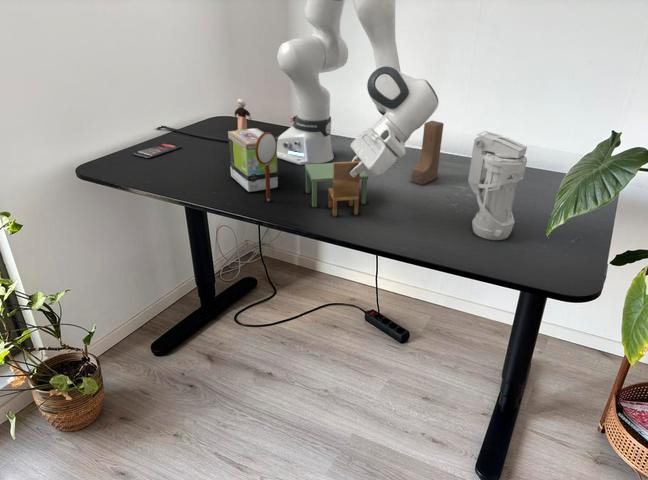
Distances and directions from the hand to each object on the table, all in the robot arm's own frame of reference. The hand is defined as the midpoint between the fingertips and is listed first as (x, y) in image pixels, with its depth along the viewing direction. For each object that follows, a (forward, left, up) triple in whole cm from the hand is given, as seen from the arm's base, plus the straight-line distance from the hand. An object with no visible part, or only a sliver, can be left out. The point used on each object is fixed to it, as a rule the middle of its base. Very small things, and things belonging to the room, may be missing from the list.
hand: (349, 173), depth 143 cm
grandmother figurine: (-70, +47, -12) cm, 85 cm away
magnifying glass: (-24, -4, -12) cm, 27 cm away
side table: (-9, +9, -12) cm, 17 cm away
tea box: (-36, +6, -12) cm, 38 cm away
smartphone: (-81, +12, -12) cm, 83 cm away
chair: (-3, +2, -12) cm, 12 cm away
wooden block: (+9, +36, -12) cm, 39 cm away
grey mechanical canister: (+36, +10, -12) cm, 40 cm away
